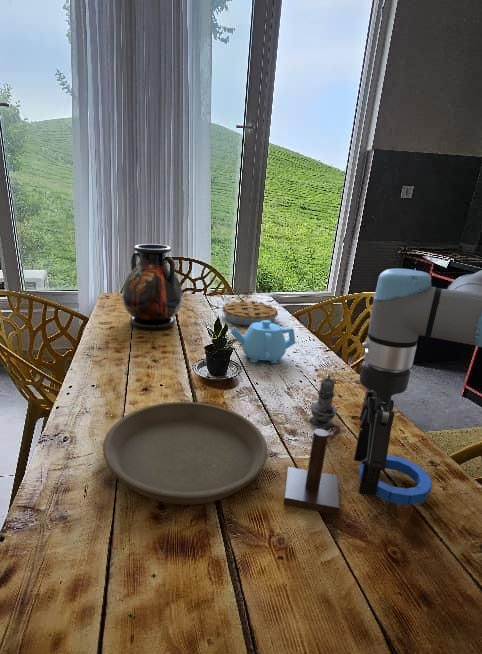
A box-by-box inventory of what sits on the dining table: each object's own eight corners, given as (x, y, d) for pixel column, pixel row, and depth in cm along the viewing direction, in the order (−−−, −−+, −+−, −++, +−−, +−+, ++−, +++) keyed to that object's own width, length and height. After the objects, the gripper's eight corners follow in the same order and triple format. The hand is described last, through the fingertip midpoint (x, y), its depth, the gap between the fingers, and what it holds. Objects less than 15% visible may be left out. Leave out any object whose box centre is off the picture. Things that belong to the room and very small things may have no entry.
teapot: (288, 348, 145) (292, 314, 140) (298, 369, 129) (303, 331, 125) (227, 346, 145) (229, 311, 140) (229, 366, 129) (232, 328, 125)
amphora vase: (110, 324, 160) (107, 245, 149) (149, 312, 177) (149, 240, 166) (156, 338, 149) (156, 254, 138) (193, 323, 165) (196, 247, 155)
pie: (217, 310, 183) (218, 298, 181) (269, 310, 185) (270, 299, 184) (226, 327, 163) (227, 314, 161) (284, 327, 165) (285, 314, 163)
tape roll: (421, 468, 85) (423, 460, 84) (436, 510, 74) (438, 500, 73) (356, 458, 87) (358, 450, 86) (362, 497, 77) (364, 487, 76)
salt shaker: (314, 413, 106) (321, 367, 101) (338, 421, 102) (346, 374, 98) (304, 423, 101) (311, 375, 97) (328, 432, 98) (337, 383, 93)
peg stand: (336, 482, 82) (347, 423, 77) (338, 515, 74) (351, 451, 69) (286, 473, 84) (295, 415, 79) (283, 504, 76) (292, 442, 71)
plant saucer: (240, 539, 68) (242, 515, 66) (69, 486, 77) (67, 464, 76) (279, 437, 95) (281, 418, 93) (149, 407, 105) (149, 390, 103)
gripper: (357, 340, 84) (340, 441, 92) (369, 389, 64) (346, 512, 72) (399, 344, 83) (377, 447, 91) (425, 396, 63) (395, 521, 71)
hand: (363, 476), depth 82 cm, fingers closed on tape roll, 9 cm apart
